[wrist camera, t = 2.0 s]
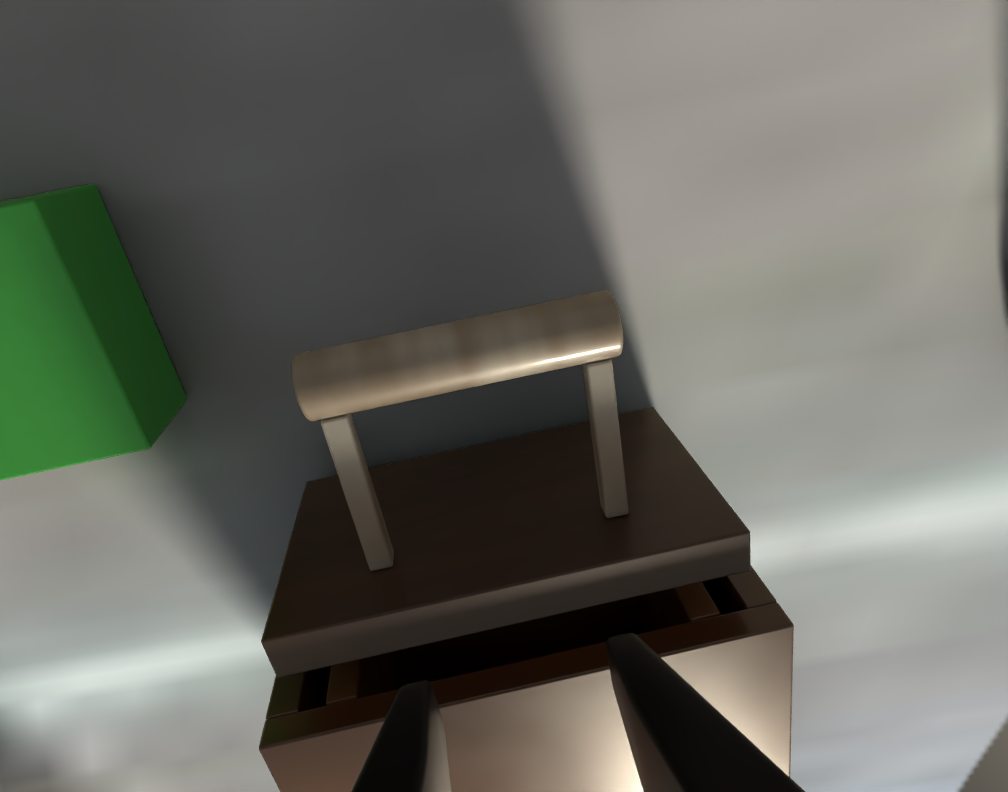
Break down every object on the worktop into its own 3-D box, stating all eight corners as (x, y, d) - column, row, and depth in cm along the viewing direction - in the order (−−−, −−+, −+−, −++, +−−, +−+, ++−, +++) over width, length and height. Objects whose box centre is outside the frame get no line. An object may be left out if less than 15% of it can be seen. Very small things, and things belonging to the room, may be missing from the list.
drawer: (244, 309, 18) (156, 416, 12) (638, 229, 19) (748, 292, 13) (411, 773, 27) (410, 973, 21) (678, 710, 27) (755, 887, 21)
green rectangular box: (52, 428, 20) (-10, 483, 17) (-64, 213, 17) (-162, 236, 14) (189, 399, 20) (150, 449, 17) (96, 182, 17) (32, 199, 14)
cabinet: (311, 524, 22) (257, 749, 15) (665, 446, 23) (794, 624, 15) (415, 805, 29) (416, 1062, 21) (688, 740, 30) (786, 968, 22)
